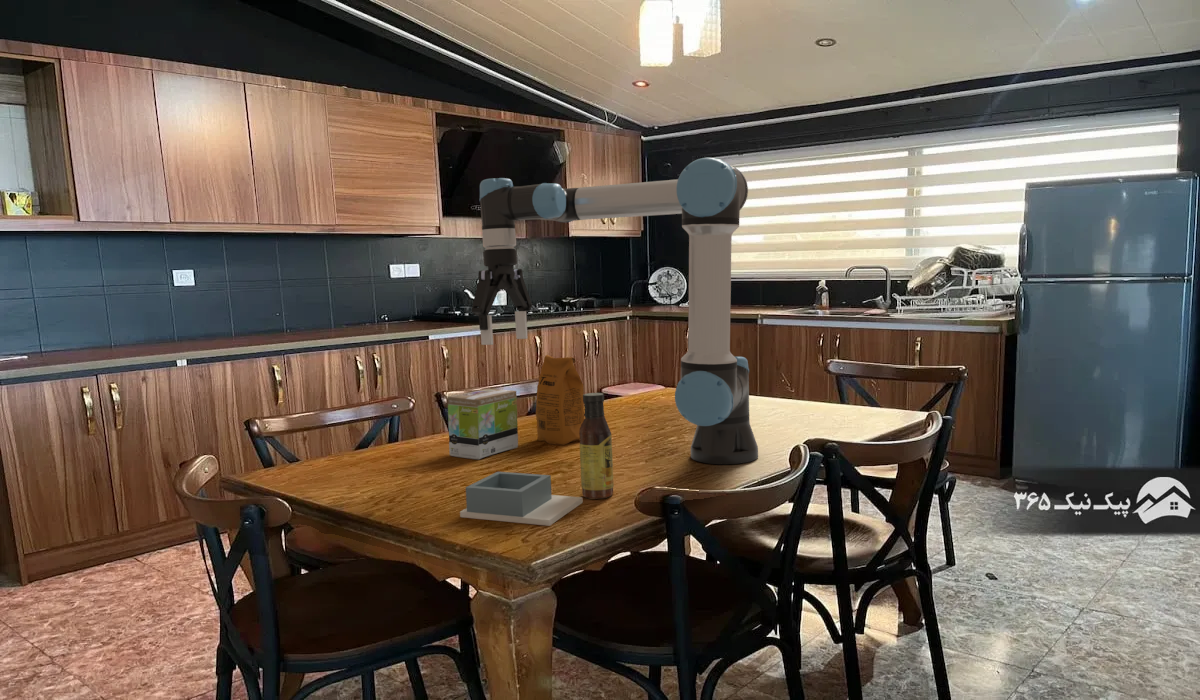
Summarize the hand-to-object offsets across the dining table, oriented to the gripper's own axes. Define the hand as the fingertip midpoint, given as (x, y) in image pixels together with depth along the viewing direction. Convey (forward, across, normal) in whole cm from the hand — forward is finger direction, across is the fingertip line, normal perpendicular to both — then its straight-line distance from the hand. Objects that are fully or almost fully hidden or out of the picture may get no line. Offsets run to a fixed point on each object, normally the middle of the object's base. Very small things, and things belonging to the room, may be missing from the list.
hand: (505, 341), depth 182 cm
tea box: (+28, -6, -12) cm, 31 cm away
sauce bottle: (+28, +18, +33) cm, 47 cm away
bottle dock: (+28, +31, +24) cm, 48 cm away
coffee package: (+28, -23, -1) cm, 36 cm away
